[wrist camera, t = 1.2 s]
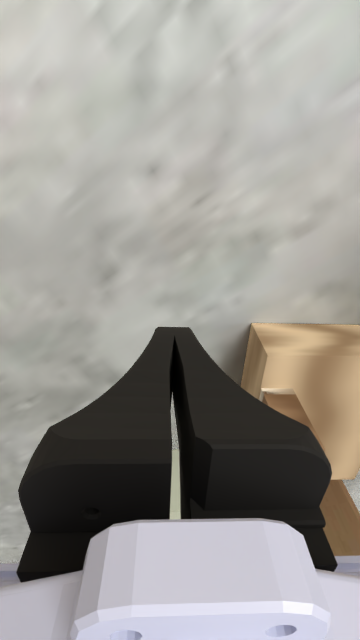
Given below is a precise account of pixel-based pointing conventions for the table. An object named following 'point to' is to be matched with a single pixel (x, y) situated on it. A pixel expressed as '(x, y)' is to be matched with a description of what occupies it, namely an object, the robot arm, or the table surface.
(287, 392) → the walnut block
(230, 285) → the table surface
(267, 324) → the oak step
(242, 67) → the table surface
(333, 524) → the wooden block
